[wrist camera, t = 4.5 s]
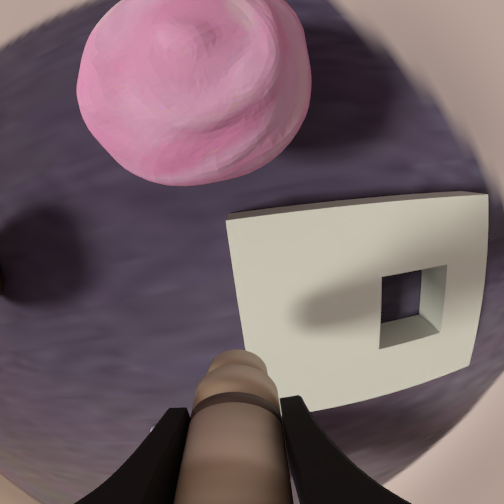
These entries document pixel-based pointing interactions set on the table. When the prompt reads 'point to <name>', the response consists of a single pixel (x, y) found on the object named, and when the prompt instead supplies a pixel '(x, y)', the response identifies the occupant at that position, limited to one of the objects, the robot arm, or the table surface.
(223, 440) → the peg
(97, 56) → the cupcake
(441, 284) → the board
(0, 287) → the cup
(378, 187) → the table surface
